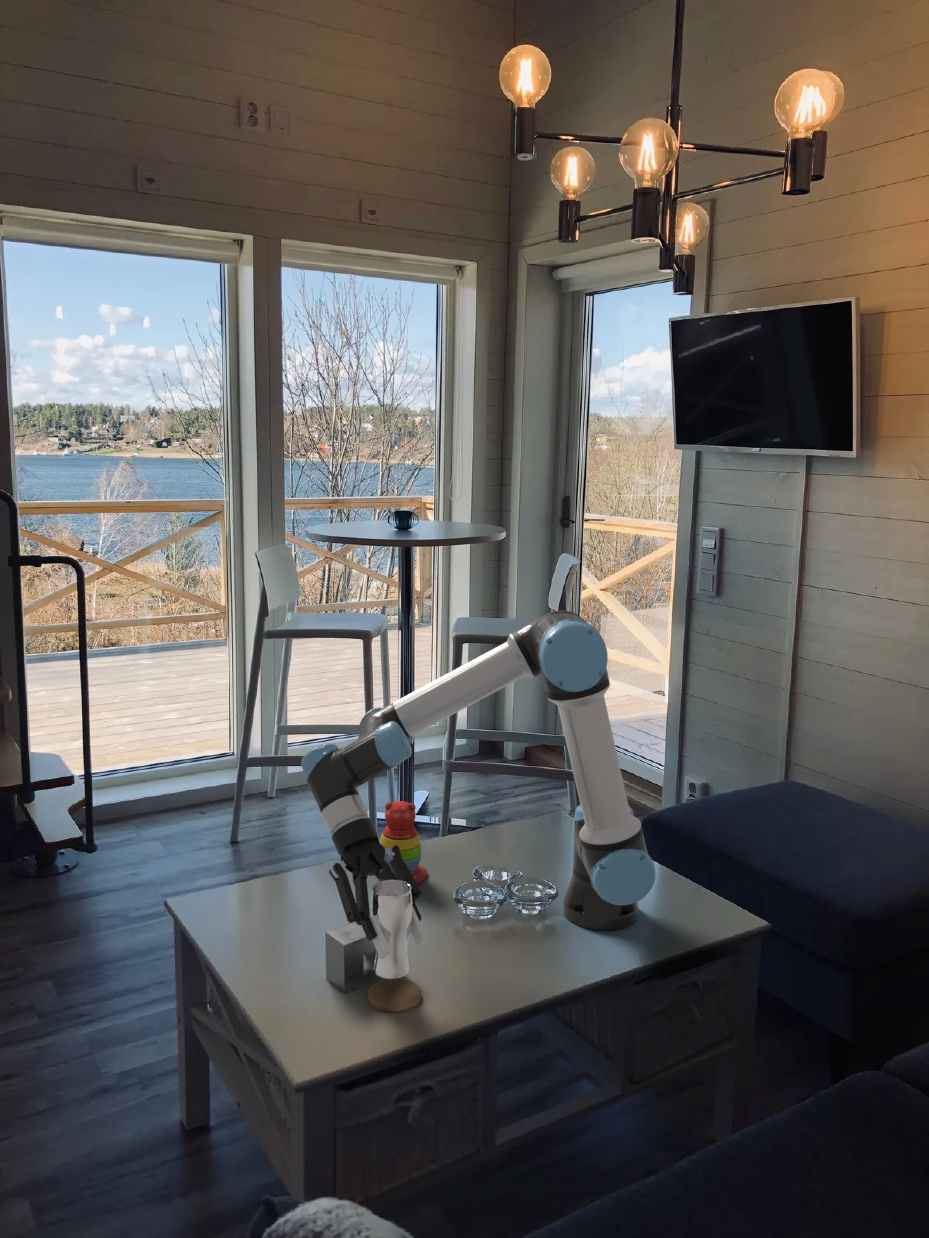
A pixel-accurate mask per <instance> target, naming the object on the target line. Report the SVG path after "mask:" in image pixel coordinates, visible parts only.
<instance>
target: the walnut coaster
mask: <svg viewBox="0 0 929 1238" xmlns="http://www.w3.org/2000/svg"><path fill="white" fill-rule="evenodd" d="M421 992H422V991H421V988H420V986H419V985H418V984H417V983H415V982H414V981H412V980H409V979H406V978H397V979H382V980H379V981H377V982H375V983H373V985H371V986H370V987H369V989H368V992H367V993H368V995H367V997H368V998H367V999H368V1003H369V1004H370V1006H371V1007H372V1008H374V1009H376V1010H377V1011H380V1012H385V1013H391V1014H392V1013H393V1014H396V1013H402V1012H407V1011H410V1010H412V1009H413V1008H415V1007H416V1006H418V1005H419V1004H420V1001H421V1000H422V999H421V998H422V993H421Z"/></svg>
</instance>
